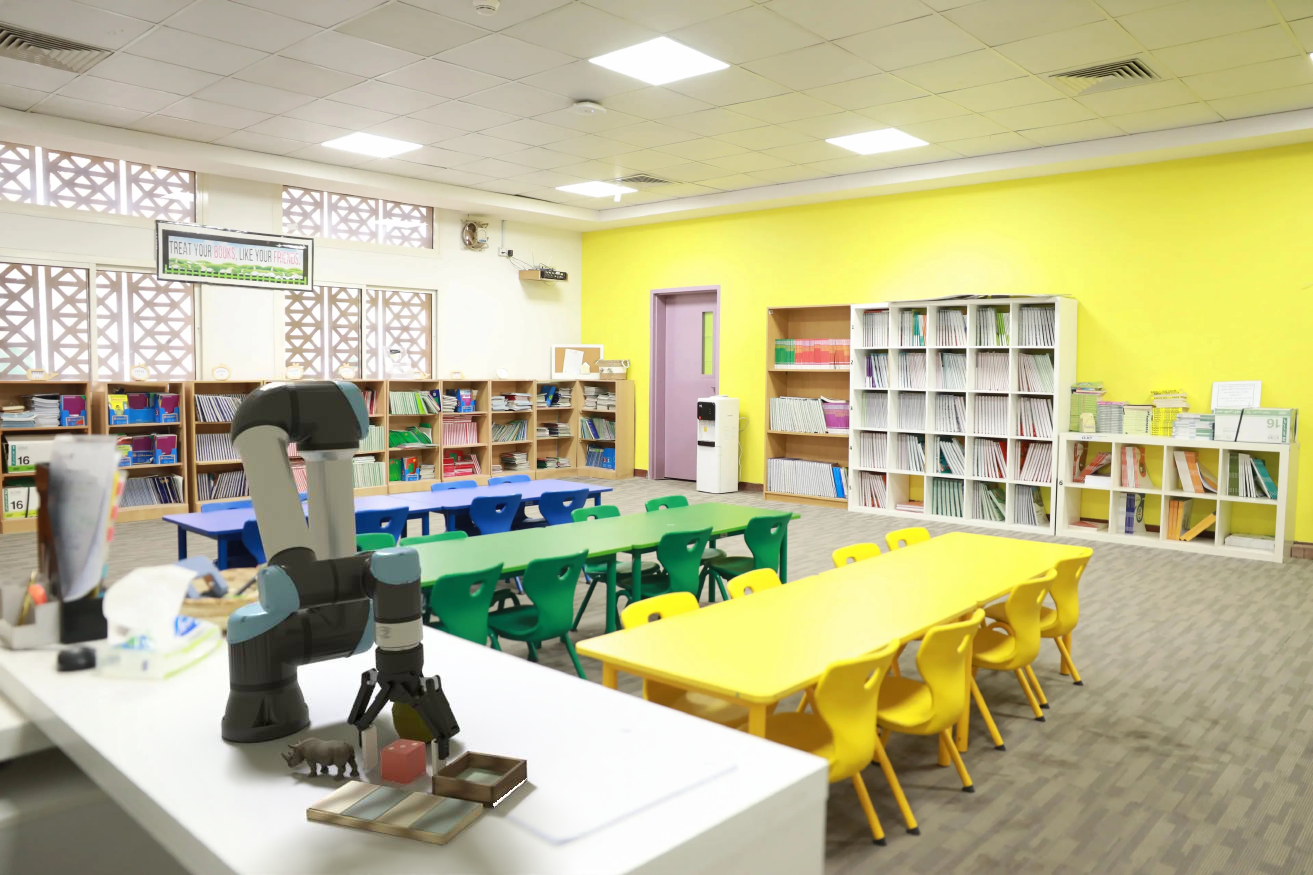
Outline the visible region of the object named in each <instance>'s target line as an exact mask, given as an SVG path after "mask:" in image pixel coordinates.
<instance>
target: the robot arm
mask: <svg viewBox="0 0 1313 875" xmlns="http://www.w3.org/2000/svg"><path fill="white" fill-rule="evenodd" d="M369 428H370V415H369V410H368V405H367V402H366V399H365V397H364V395H363V393H362V391H361V389H360V388H359V387H358V385H356V384H355V383H353V382H350V381H344V380H343V381H340V380H339V381H338V380H333V379H331V380H321V381H320V380H318V381H315V380H313V381H272V382H269V383H265V384H263V385H260V386H258V387H257V388H255V389H254V390H252V391H251V392H250V393H248V394H247V395H246V396H245V397H244V398H243V400H242V401H241V402H240V404H239V405H238V407H237V409H236V410H235V412H234V415H233V418H232V421H231V424H230V431H229V432H230V442H231V447H232V450H233V453H234V455H235V457H237V458H238V459H240V460H241V462H242V466H243V470H244V474H245V478H246V483H247V486H248V490H249V495H250V498H251V502H252V506H253V511H254V514H255V519H256V523H257V526H258V531H259V532H258V533H259V535H260V539H261V540H260V541H261V545H262V547H263V552H264V557H265V560H266V564H267V566H266V567H263V568H261V569H260V570H259V572H258V574H257V582H256V583H257V592H258V600H257V601H255V602H251V603H248V604H246V605H243V606H241V607H239V608H237V609H235V610H234V611H233V612H232V613H231V614H230V615H229V617H228V619H227V625H226V626H227V627H226V629H227V630H226V639H225V641H226V643H227V651H228V652H227V656H228V671H229V672H228V675H229V677H228V678H229V695H228V696H227V697H228V698H227V702H226V705H225V711H224V715H223V716H222V717H221V721H220V722H221V724H220V726H221V727H220V728H221V730H220V731H221V737H223V738H224V739H226V740H228V741H231V742H238V743H239V742H241V743H252V742H256V743H257V742H263V741H269V740H275V739H278V738H283V737H285V736H289V735H291V734H293V733H296V732H299V731H300V730H301V729H303V728H304V727H306V726H307V725H308V724H309V722H310V710H309V705H308V703H307V702H306V701H305V696H304V694H303V691H302V689H301V686H300V683H299V680H298V667H300V666H306V665H310V664H311V665H312V664H315V663H321V662H325V661H333V660H338V659H342V658H345V659H348V658H351V657H353V656H357V655H361V654H364V653H367V652H368V651H370V650H371V648H372V647H373V646H374V644H375V645H376V646H377V647H376V648H375V649H374V652H375V653H374V654H375V655H374V660H375V667H371V668H370V669H368V670H365V671H363V672H362V673H361V675H360V676H361V677H360V685H359V689H358V692H357V694H356V697H355V699H354V702H353V704H352V707H351V710H350V713H349V715H348V717H347V719H346V720H347V721H346V722H347V724H348V726H354V727H356V729H357V730H358V746H359V748H360V749H362V752H361V753H362V767H363V771H364V772H365V771H366V772H367V771H369V770H371V769H373V768H374V767H376V766H377V765H379V764H378V759H379V758H378V741H377V740H378V739H377V726H376V725H373V724H374V723H375V722H374V721H376V718H377V717H378V715H379V714H380V713H381V712H382V710H383V709H384V707H385V706H386V705H387V703H394V702H397V701H398V702H400V703H404V704H406V703H408V704H409V705H410V707H412V708H414V709H415V710H416V711H417V713H418V714H419V716H420V717H421V719H422V720H423V721H424V723H425V724H426V726H427V727H428V729H429V730H430V731H431V733H432V734H433V736H434V737H435V739H434V740H432V741H430V742H431V743H430V744H431V762H432V763H431V764H432V766H431V769H432V776H433V775H434V774H436V773H437V772H439V771H440V770H441V769H443V768H444V767H446V766H447V759H448V758H449V757H450V739H452V738H453V737H455V736H456V735H457V734H459V733H460V732H461V729H460V728H461V727H460V726H459V724H458V722H457V719H456V716H455V714H454V713H453V711H452V707H451V706H450V705H451V704H450V702H449V701H447V700H448V699H446V698H447V697H445V696H446V694H445V692H444V690H443V687H442V678H441V676H440V675H439V674H434V675H433V676H428V677H427V676H424V673H423V668H424V664H425V655H424V654H425V652H424V644H423V643H422V641H423V640H424V624H423V613H422V611H423V609H422V608H423V607H422V603H423V602H422V568H421V561H420V555H419V552H418V550H417V549H415V548H413V547H410V546H409V547H406V546H392V547H384V548H381V549H377V550H363V551H360V552H358V551H357V550H358V549H357V548H358V547H357V533H356V532H357V530H356V529H357V528H356V514H355V513H356V512H355V511H356V510H355V508H356V507H355V490H354V488H355V487H354V469H353V467H354V466H353V458H354V456H355V455H356V454H357V453H358V452H359V451H360V450H361V449H360V448H361V447H360V441H364V440H365V439H366V438H367V437H368V436H369V431H370V430H369ZM290 444H295V446H296V447H295V450H296V451H295V452H296V453H297V454H298V455H299V456H300V457H301V458H302V459H304V462H305V476H306V498H307V514H308V515H307V519H308V520H307V519H306V514H305V512H304V508H303V504H302V500H301V496H300V494H299V493H300V492H299V488H298V485H297V483H296V479H295V476H294V471H293V467H292V463H291V461H290V457H289V453H288V449H289V447H290ZM307 521H308V522H307ZM376 684H378V686H379V688H380V690H379V691H378V693H377V694H376V695H375V697H374V699H373V701H372V703H370V700H371V698H372V696H373V693H374V690H375V688H376ZM423 686H424V687H425V688H424V689H423V688H422V687H423ZM425 691H427V693H426V692H425ZM417 695H418V696H419V698H418V699H415V698H416V697H417ZM428 698H429V700H428ZM448 702H449V703H448ZM369 703H370V705H369ZM449 704H450V705H449ZM368 706H369V707H368ZM440 731H441V732H440Z"/></svg>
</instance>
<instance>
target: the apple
mask: <svg viewBox="0 0 1313 875" xmlns="http://www.w3.org/2000/svg"><path fill="white" fill-rule="evenodd" d="M422 688H423V689H424V688H425V687H424V686H423V687H422ZM425 692H426V693H427V691H425ZM445 697H446V695H445ZM418 698H419V696H418V695H417V697H416V698H415V699H418ZM446 699H447V697H446ZM428 700H429V698H428ZM447 701H448V699H447ZM392 703H393V704H392V707H391V715H392V716H391V717H392V722H393V728H394V730H395V732H396V733H397V735H398V737H399V739H407V740H413V741H420V742H425V744H426V743H430V742H431V741H433V740H434V739H435V737H434V736H433V734H432V733H431V731H430V730H429V729H428V727H427V726H426V724H425V723H424V721H423V720H422V719H421V717H420V716H419V714H418V713H417V711H416V710H415V709H414V708H412V707H410V705H409V704H408V703H406V704H404V703H400V702H398V701H397V702H392ZM448 703H449V705H451V704H450V702H449V701H448ZM440 732H441V731H440Z"/></svg>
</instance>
